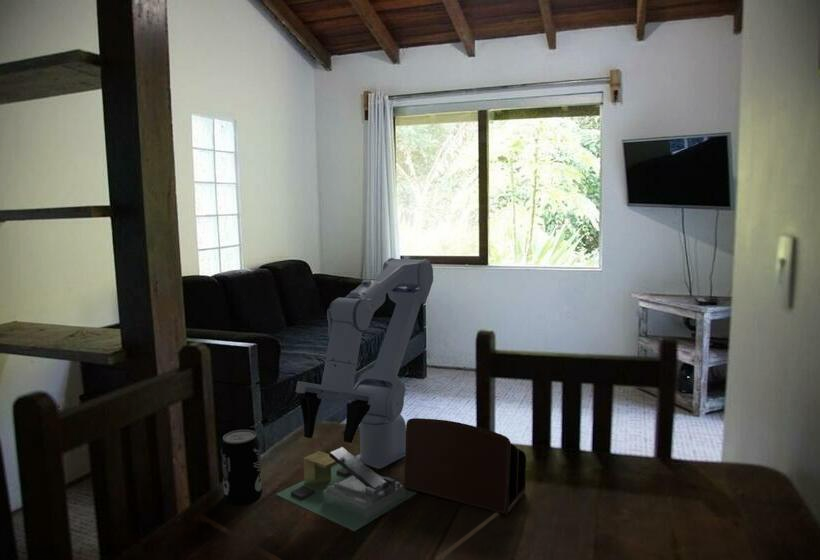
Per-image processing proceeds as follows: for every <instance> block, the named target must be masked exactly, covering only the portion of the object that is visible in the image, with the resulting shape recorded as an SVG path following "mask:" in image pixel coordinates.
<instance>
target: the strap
mask: <svg viewBox="0 0 820 560" xmlns="http://www.w3.org/2000/svg"><path fill="white" fill-rule="evenodd" d="M329 454H330V455H329V456H330V457H331V458H332V459H333V460H335V461H336V462H337V463H336V464H340V465H341V466H342V467H343V468H345V469H346V470H347V471H348V472H349V473H351V474H352V475H353V476H354V477H356V478H357V479H358V480H359V481H361V482H362V483H363V484H364V485H365V486H367V487H371V488H374V489H376V490H377V493H379V492H381V491H382V490H384V489H386V488H388V487H389V484H388V482H386V481H385V480H384V479H382V478H381V477H380V476H379V475H380V474H378V473H376V472H375V471H373V470H372V469H371V468H370V467H369V466H368V465H367V464H364V463H362V462H361V461H359V460H358V459H357V457H354V456H355V455H353V454H352V453H351V452H350V451H348V450H347V449H346V448H345V447H343V446H341V447H339V448H337V449H335V450H332V451H330V452H329ZM377 474H378V475H377Z"/></svg>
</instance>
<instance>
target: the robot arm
mask: <svg viewBox="0 0 820 560" xmlns="http://www.w3.org/2000/svg"><path fill="white" fill-rule="evenodd" d="M360 283H361V284H359V285H358V286H357V287H356V288H355V289H353V290H351V291H350V292H349V294H347V295H346V296H345V297H337V298H336V299H334V300H332V302H330V305H329V307H328V308H327V311H326V319H327V323H328V324H327V325H328V326H327V335H328V336H329V339H328V344H327V349H326V355H325V362H324V367H323V374H322V379H321V384H319V383H317V384H316V383H311V382H305V381H300V380H299V381H297V383H296V386H295V387H296V388H295V393H299V394H298V398H297V399H298V403H299V404H300V407H301V408H300V409H301V414H302V418H303V419H302V420H303V429H304V430H303V431H304V432H303V433H304V434H303V436H304V438H307V439H313V437H314V432H315V425H316V419H317V416H318V412H319V409H320V405H321V402H322V399H321V398H320V397H325V398H331V399H332V398H333V399H340V400H343V401H344V400H345V401H349V402H347V403H346V420H345V421H346V422H345V428H344V434H343V442H345V443H349V444H352V443H353V440H354V438H355V435H356V433H357V431H358V428H359V446H360V449H359V454H357V455H353V456H354V457H356V458H357V459H358V460H359V461H361V462H362V463H363V464H365V465H366V466H370V467H373V468H375V469H382V468H384V467H386V466H388V465H390V464H392V463H394V462H397V461H398V460H400V459H402V458H403V457H404V458H405V449H406V421H405V419H404V417H403V415H402V411H403V408H404V403H405V395H406V391H407V389H406V387H405V383H404V381H403V380H402V379H401V378H400V376H398V374H399V372H400V369H401V365H402V362H403V359H404V356H405V354H406V351H407V347H408V344H409V341H410V338H411V335H412V333H413V330H414V327H415V323H416V320H417V317H418V314H419V311H420V308H421V305H422V304H424V303H426V301H427V300H428V297H429V295H430V291H431V289H432V285H433V283H434V269H433V264H432V263H431V261H430V260H429V259H427V258H425V259H412V258H411V259H410V258H409V259H408V258H406V259H405V258H394V257H389V258H388V259H387V260H386V261H384V262H383V266H382V271H381V272H380V273H379V274H378V275H377V276H376V277H375V279H374V280H372V279H363V280H362V281H361V282H360ZM387 296H388V299H389V300H390V301H392V302H393V303H395V307H394V310H393V313H392V315H391V318H390V320H389V324H388V326H387V330H386V332H385V335H384V338H383V341H382V344H381V346H380V350H379V352H378V355H377V357H376V360H375V363H374V365H373V367H372V368H371V369H369V370H367V371H365V372H363V373H361V374H360V375H359V378H358V380H357V382H356V383H355V379H356V373H357V366H358V360H359V353H360V347H361V343H362V335H363V332H364V331H365V330H366V329H368V328H369V326H370V324H371V321H372V318H373V317H374V314H375V312H376V311H377V310H378V309H379V308H380V307H381V306H383V304H384V303H385V301H386V299H387V298H386V297H387ZM329 392H332V393H338V394H339V393H340V394H342V395H343V396H341V395H335V394H329Z"/></svg>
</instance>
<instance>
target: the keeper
mask: <svg viewBox="0 0 820 560" xmlns="http://www.w3.org/2000/svg"><path fill="white" fill-rule="evenodd" d="M329 455H330V453H326V452H324V451H321V450H318V451H316V452H314V453H311V454H309V455H307V456H305V457H303V481H305V484H307V485H310V486H312V487H314V488H316V487H318V486H320V485H322V484H324V483H326V482H328V481H330V480H331V467H333V466H335V465H337V464H338V463H337V462H336V461H335V460H333V459H332V458H331V457H330V456H329Z"/></svg>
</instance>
